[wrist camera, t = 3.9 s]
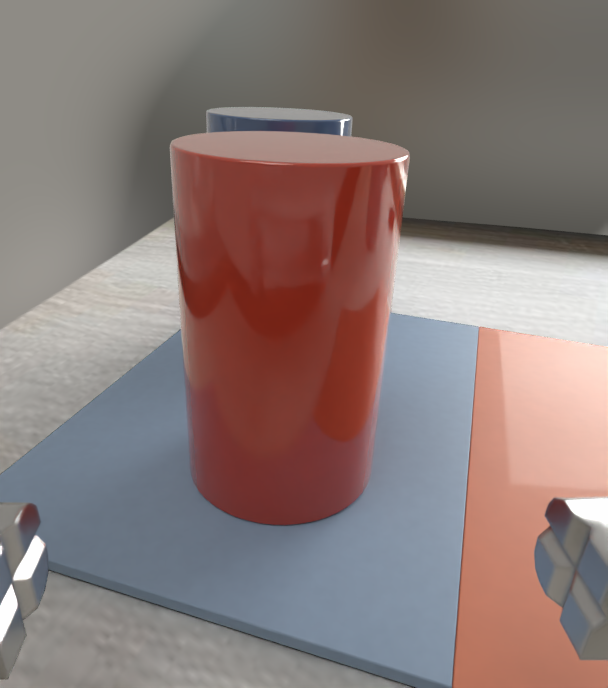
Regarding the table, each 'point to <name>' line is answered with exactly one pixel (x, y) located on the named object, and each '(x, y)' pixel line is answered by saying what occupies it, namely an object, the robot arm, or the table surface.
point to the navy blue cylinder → (278, 120)
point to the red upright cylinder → (284, 314)
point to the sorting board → (354, 512)
